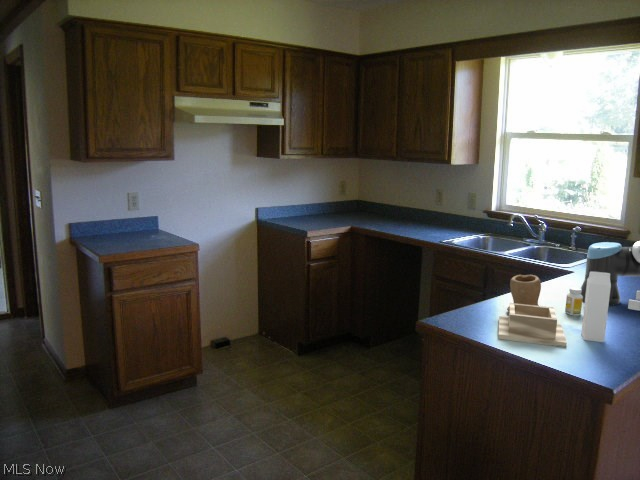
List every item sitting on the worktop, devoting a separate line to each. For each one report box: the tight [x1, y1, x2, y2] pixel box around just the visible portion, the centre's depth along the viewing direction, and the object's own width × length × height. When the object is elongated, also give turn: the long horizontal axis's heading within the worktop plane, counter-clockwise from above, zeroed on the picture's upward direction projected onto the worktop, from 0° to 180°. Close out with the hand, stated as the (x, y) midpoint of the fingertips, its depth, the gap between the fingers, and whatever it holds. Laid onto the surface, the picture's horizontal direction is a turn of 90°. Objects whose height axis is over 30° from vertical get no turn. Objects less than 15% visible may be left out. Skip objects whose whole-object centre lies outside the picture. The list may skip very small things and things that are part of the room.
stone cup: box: [506, 274, 542, 313], centre depth 196 cm, size 15×12×15 cm
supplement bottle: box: [564, 286, 583, 317], centre depth 200 cm, size 5×5×10 cm
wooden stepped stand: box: [497, 302, 567, 348], centre depth 179 cm, size 20×20×8 cm
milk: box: [581, 272, 611, 343], centre depth 174 cm, size 6×6×22 cm
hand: (632, 299), depth 167 cm, fingers open, 13 cm apart
